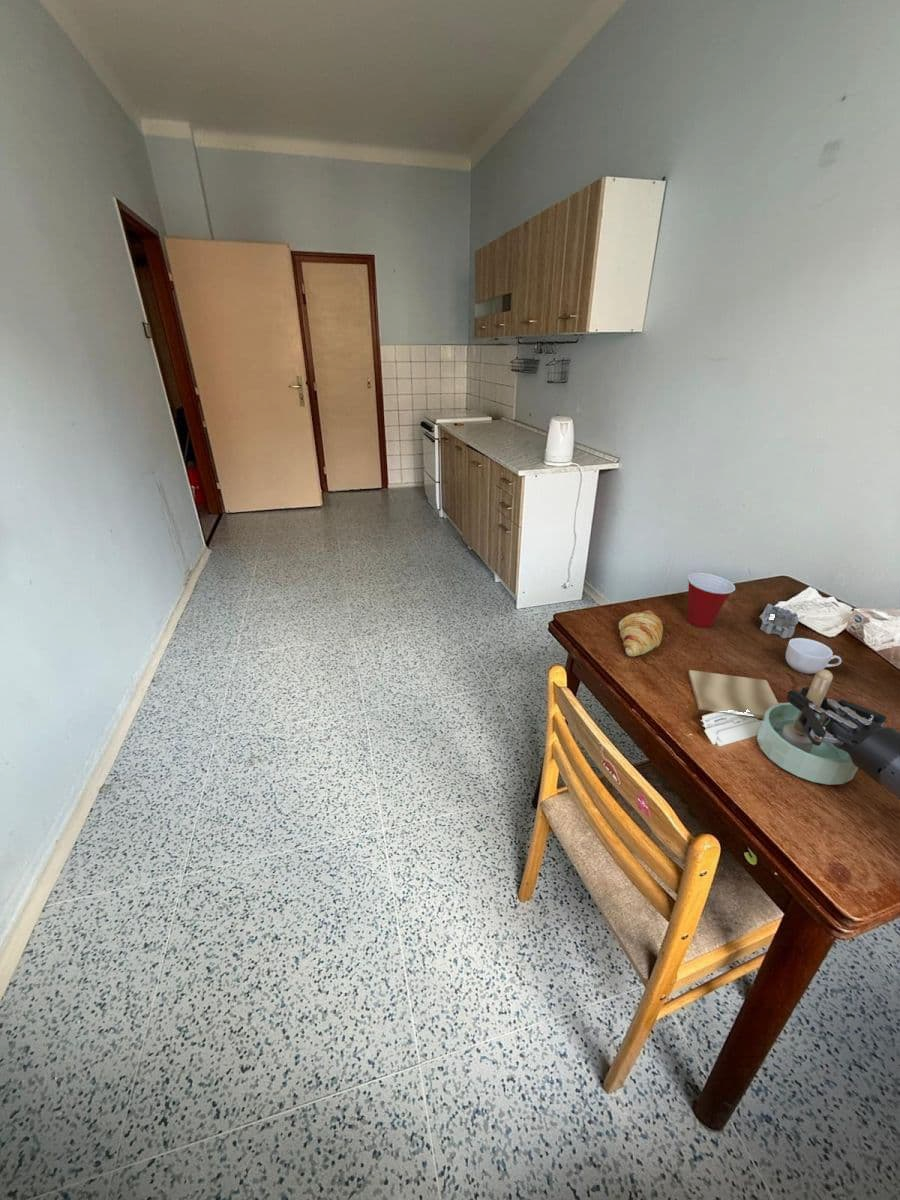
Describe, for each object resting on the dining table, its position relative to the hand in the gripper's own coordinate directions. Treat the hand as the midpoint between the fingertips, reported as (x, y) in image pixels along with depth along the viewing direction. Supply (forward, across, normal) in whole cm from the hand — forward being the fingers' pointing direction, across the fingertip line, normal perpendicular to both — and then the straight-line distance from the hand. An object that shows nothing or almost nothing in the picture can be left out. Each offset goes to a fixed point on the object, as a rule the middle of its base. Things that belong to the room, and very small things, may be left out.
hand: (796, 692), depth 80 cm
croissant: (+36, +4, +11) cm, 38 cm away
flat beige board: (+12, -2, +11) cm, 16 cm away
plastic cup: (+39, -16, +11) cm, 43 cm away
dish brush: (-3, 0, +10) cm, 10 cm away
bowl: (-4, -2, +11) cm, 12 cm away
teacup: (+15, -24, +11) cm, 31 cm away
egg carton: (+31, -32, +11) cm, 46 cm away
